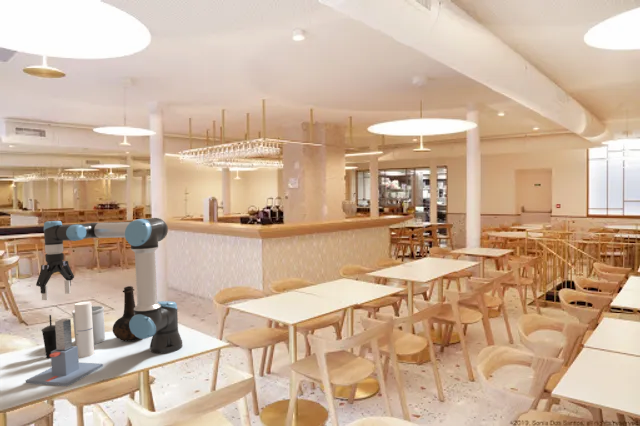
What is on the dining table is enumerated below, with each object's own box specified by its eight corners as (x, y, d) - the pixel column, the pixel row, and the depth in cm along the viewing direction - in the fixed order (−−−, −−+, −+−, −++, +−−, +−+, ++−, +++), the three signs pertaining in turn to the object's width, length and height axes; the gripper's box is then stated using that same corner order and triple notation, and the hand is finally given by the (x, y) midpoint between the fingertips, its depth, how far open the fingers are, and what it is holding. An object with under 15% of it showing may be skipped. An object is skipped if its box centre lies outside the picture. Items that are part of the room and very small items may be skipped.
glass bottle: (157, 334, 235) (154, 283, 234) (135, 345, 218) (133, 290, 217) (128, 332, 239) (126, 283, 238) (105, 343, 222) (102, 290, 221)
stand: (102, 366, 191) (101, 341, 191) (67, 386, 171) (66, 358, 171) (64, 364, 195) (62, 340, 195) (25, 383, 176) (24, 356, 175)
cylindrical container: (86, 357, 202) (83, 305, 202) (73, 357, 204) (70, 304, 203) (97, 352, 209) (94, 301, 208) (84, 351, 211) (82, 301, 210)
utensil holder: (72, 348, 216) (70, 314, 215) (75, 340, 230) (73, 307, 229) (104, 343, 222) (102, 310, 221) (106, 335, 236) (104, 304, 235)
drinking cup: (65, 354, 208) (63, 313, 207) (49, 360, 201) (47, 317, 200) (55, 352, 211) (52, 312, 210) (39, 358, 204) (37, 316, 203)
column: (73, 369, 185) (71, 319, 184) (66, 373, 181) (63, 322, 180) (65, 369, 186) (62, 318, 185) (57, 373, 182) (54, 321, 181)
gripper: (68, 249, 220) (70, 290, 221) (25, 256, 196) (27, 302, 197) (80, 249, 219) (82, 291, 220) (38, 256, 194) (41, 303, 195)
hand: (56, 296), depth 208 cm, fingers open, 13 cm apart
